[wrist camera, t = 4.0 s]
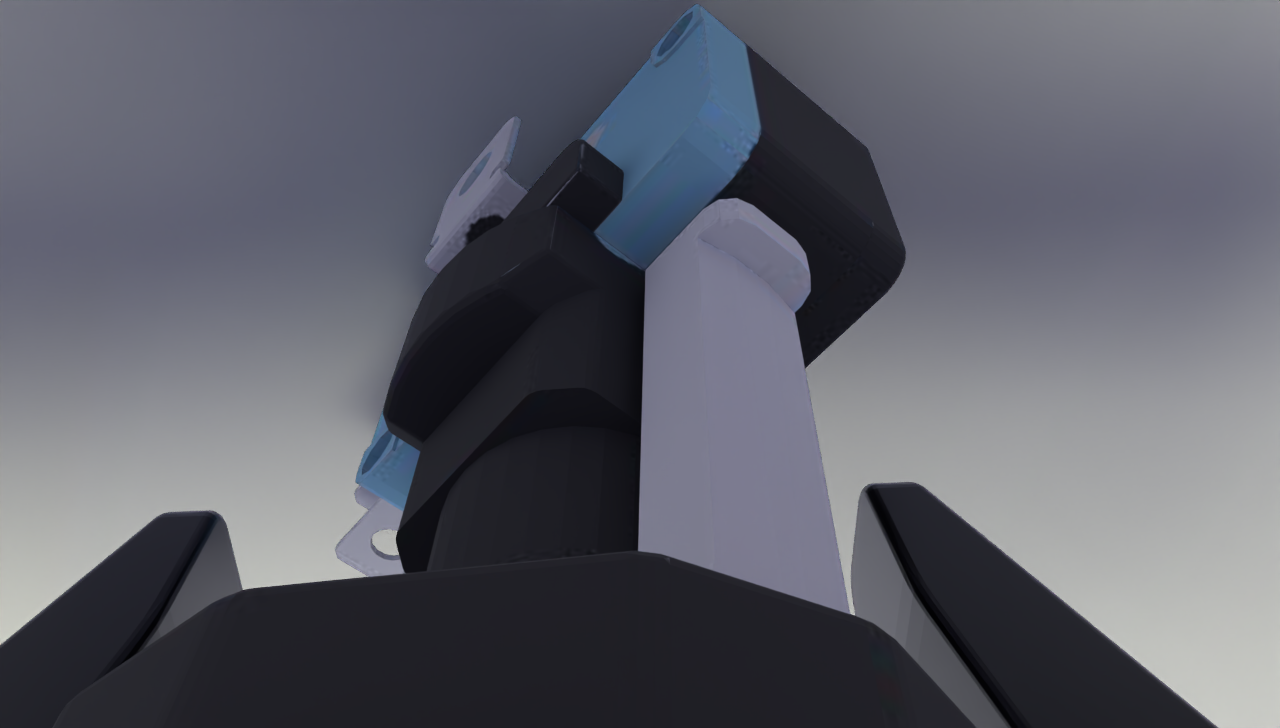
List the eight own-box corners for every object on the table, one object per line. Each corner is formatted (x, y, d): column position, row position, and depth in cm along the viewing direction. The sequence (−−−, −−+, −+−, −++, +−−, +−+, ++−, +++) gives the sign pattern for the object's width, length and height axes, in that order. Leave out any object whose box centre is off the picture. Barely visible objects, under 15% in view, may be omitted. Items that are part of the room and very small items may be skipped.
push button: (571, 594, 15) (445, 1960, 6) (173, 347, 13) (-763, 1779, 4) (995, 204, 12) (1814, 1706, 3) (562, -177, 10) (55, 956, 2)
